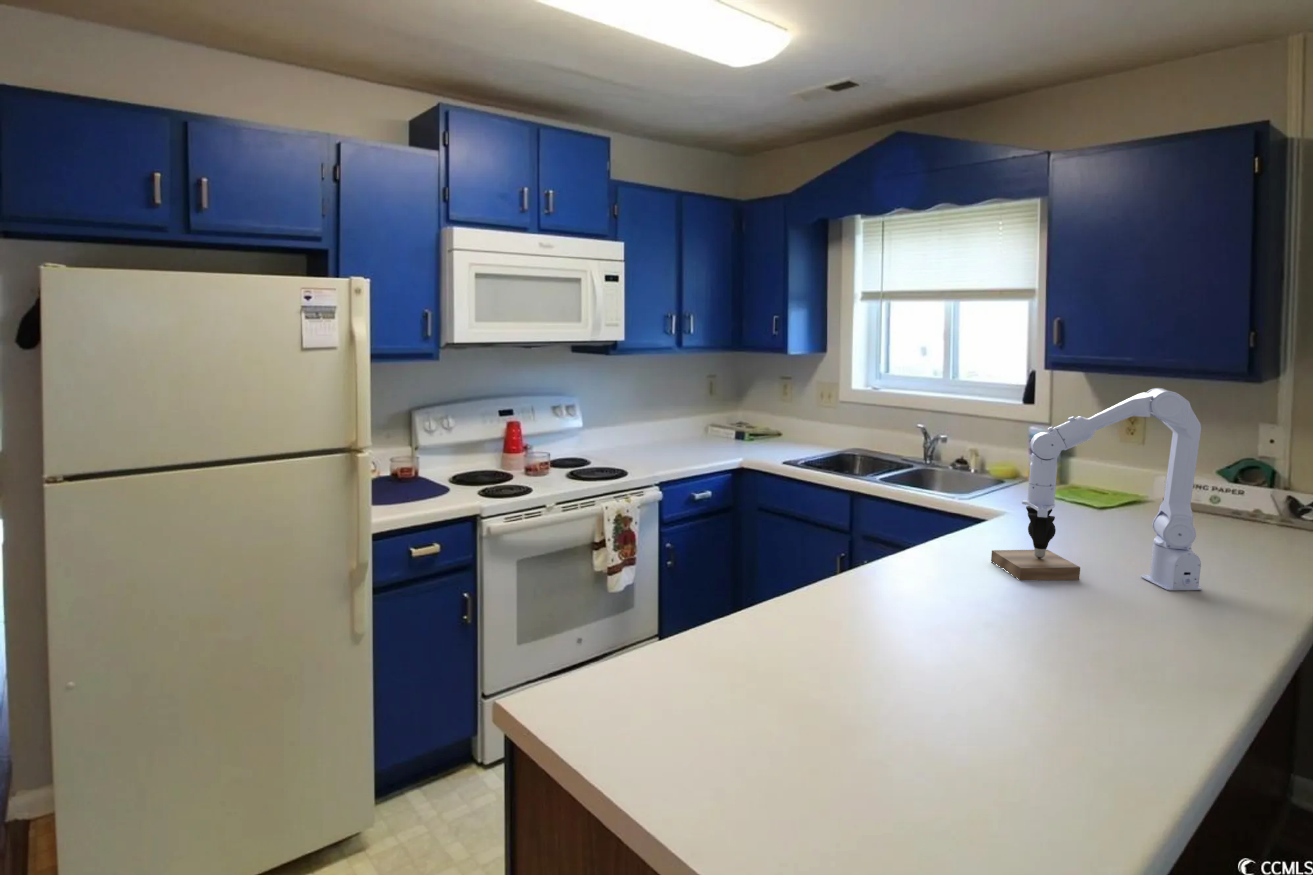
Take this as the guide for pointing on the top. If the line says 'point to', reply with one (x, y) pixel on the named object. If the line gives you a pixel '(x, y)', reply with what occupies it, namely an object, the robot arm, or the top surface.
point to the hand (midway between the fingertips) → (1037, 540)
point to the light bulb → (1041, 548)
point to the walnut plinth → (1035, 565)
